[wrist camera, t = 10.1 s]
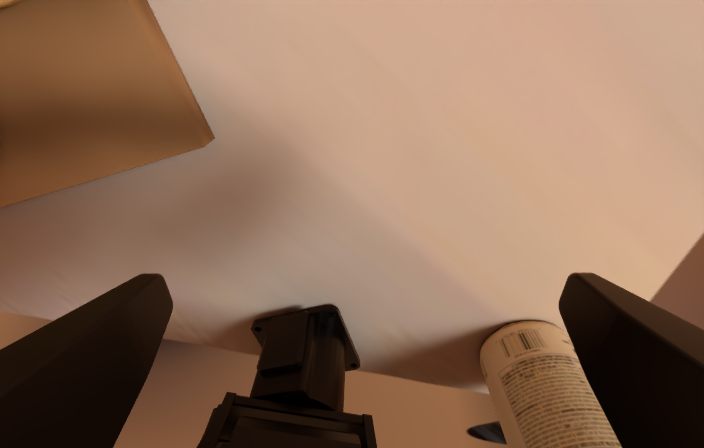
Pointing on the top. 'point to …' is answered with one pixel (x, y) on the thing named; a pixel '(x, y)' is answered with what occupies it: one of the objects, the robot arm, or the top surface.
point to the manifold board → (87, 94)
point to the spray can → (542, 389)
